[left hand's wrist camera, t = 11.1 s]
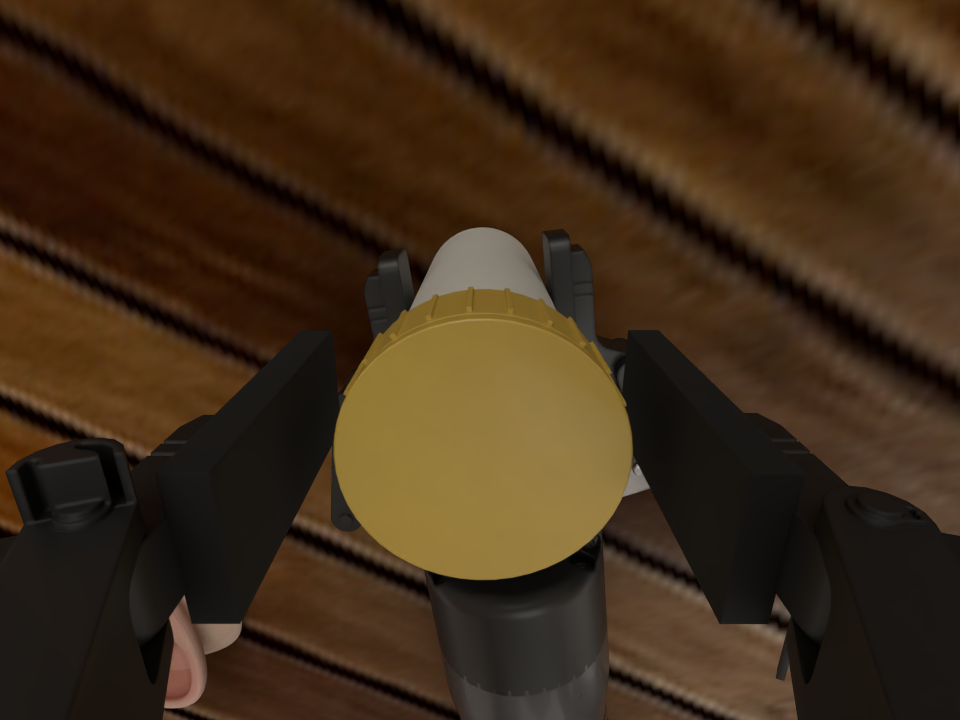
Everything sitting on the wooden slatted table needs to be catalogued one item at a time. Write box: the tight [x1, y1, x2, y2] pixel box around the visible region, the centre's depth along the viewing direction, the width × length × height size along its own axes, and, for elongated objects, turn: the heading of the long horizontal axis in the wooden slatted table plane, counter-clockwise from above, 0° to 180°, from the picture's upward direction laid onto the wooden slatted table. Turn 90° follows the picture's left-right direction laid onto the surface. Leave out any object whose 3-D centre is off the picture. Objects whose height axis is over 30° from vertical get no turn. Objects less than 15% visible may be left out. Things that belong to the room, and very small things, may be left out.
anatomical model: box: [164, 595, 242, 708], centre depth 29 cm, size 13×4×12 cm
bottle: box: [409, 227, 556, 311], centre depth 18 cm, size 5×5×15 cm
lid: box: [334, 287, 633, 580], centre depth 11 cm, size 6×6×2 cm
